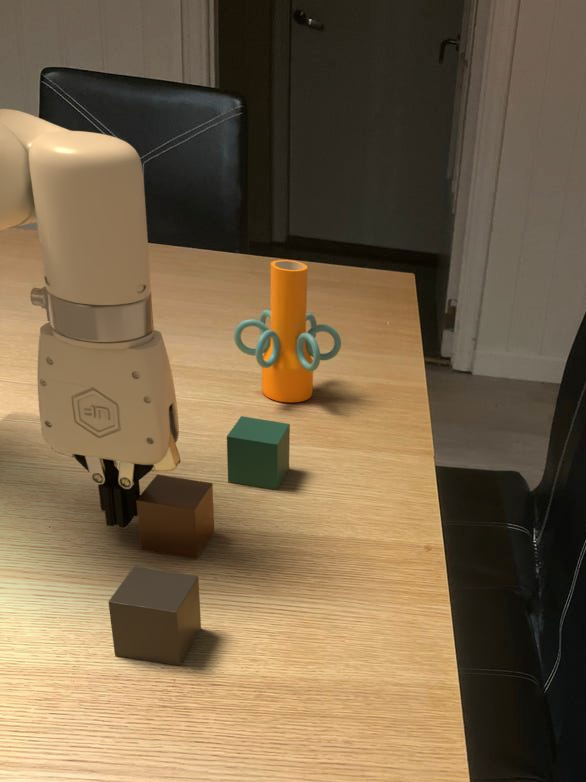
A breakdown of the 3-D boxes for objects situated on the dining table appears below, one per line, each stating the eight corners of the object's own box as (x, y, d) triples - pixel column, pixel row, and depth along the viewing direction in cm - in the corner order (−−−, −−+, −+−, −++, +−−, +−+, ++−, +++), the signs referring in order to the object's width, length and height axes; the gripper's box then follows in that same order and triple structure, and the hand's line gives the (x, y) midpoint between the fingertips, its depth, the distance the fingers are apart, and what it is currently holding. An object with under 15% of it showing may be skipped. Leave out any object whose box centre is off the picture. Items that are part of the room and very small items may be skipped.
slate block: (180, 666, 71) (176, 612, 68) (114, 655, 71) (108, 601, 68) (201, 627, 75) (198, 575, 72) (139, 618, 75) (133, 565, 72)
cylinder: (336, 379, 119) (341, 256, 110) (340, 414, 111) (347, 284, 102) (236, 373, 116) (234, 246, 107) (233, 408, 108) (230, 274, 99)
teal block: (277, 490, 94) (277, 444, 91) (227, 482, 94) (226, 436, 91) (289, 468, 98) (289, 423, 95) (241, 460, 98) (241, 415, 95)
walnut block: (197, 559, 83) (194, 509, 80) (140, 550, 82) (135, 500, 79) (214, 531, 87) (212, 482, 84) (160, 522, 86) (157, 474, 84)
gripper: (-19, 312, 70) (18, 526, 80) (181, 346, 70) (191, 555, 81) (28, 284, 76) (57, 487, 86) (212, 314, 76) (218, 513, 87)
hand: (122, 519), depth 84 cm, fingers closed
